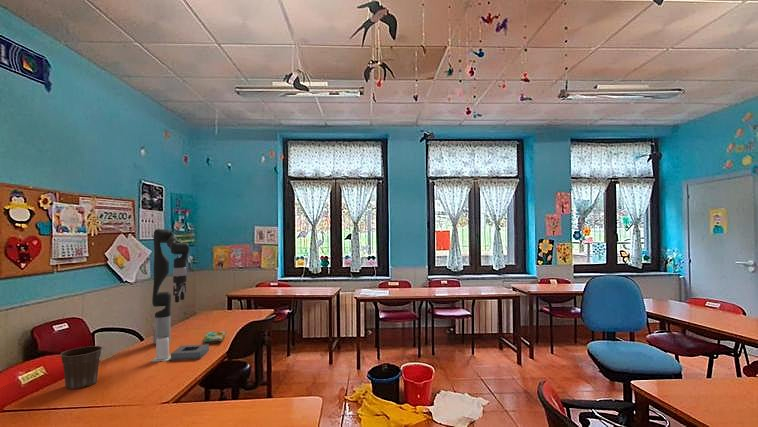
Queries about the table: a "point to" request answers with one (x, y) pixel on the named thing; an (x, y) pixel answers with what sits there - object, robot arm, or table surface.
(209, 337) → the puzzle game
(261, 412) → the table surface
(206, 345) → the hollow block
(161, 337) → the can
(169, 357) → the mat
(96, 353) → the plant pot
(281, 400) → the table surface
